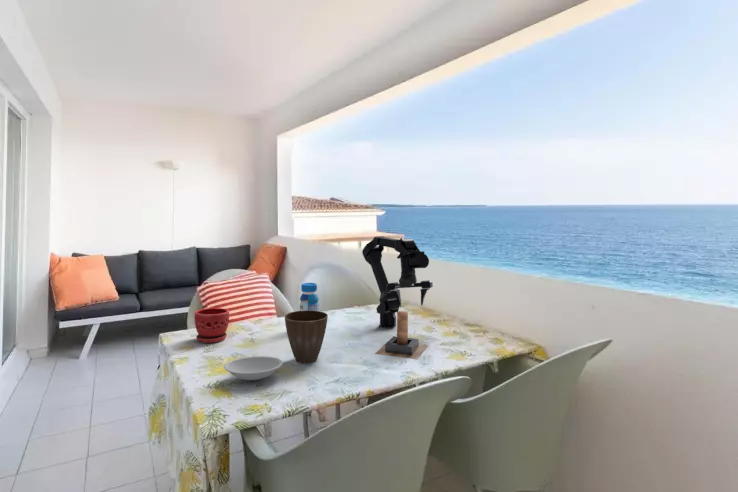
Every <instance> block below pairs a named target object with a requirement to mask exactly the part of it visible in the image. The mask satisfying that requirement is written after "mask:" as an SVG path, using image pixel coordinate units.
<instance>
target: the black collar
mask: <svg viewBox="0 0 738 492" xmlns="http://www.w3.org/2000/svg"><path fill="white" fill-rule="evenodd" d="M419 341H420V338H412V337H408V345H405V344H397V335H395V336H394V335H393V336H392V337H391V338H390V339H389V340H388V341H386V343H384V344H385V352H389V353H397V354H405V355H413V353H414V352H415V351H416V350H417V348H418V347H419V344H420V342H419Z"/></svg>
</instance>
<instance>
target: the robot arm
mask: <svg viewBox="0 0 738 492" xmlns="http://www.w3.org/2000/svg"><path fill="white" fill-rule="evenodd" d="M385 248H390V249H393V250H394V251H396V252H397V253H399V255H397V256H396V258H397V259H399V260H400V277H399V279H398V282H395V281H394V282H389V280H388V277H387V275H386V273H385V269H384V267H383V264H382V257H383V254H382V253H383V251H384V249H385ZM361 253H362V256H363V259H364V260H365V262H366V263H367V264H369V265H370V267H371V269H372V273H373V275H374V278H375V280H376V281H375V282H376V284H377V286H378V290H379V292H380V296H379V304H378V305H377V307H376V308H375V309H376V313H377V314H379V325H378V328H385V329H386V328H387V329H393V328H394V327H396V326H397V315H396V313H397V312H398V311H400V308H401V307H402V298H401V290H400V289H407V288H421V289H420V305H421V306H423V305H424V302H425V297H426V294H427V292H428V291H429V290H430V288H433V287H434V286H433V281H432V280H431V279H430V280H429V279H428V280H421V281H420V282H417V281H418V280H417V275H416V269H425V268H427V267H428V266H429V263H430V258H428V255H426V253H425V251H421V250H420V248H419V247H418V246H417V244H416V242H415V240H414V239H413V238H402V239H397V238H391V237H387V236H381V235H380V236H374V237H373V239H371V240H370V241H369V242H368V243H366V244H365V246H364V247H363V249H362V251H361Z"/></svg>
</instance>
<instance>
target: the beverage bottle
mask: <svg viewBox="0 0 738 492" xmlns="http://www.w3.org/2000/svg"><path fill="white" fill-rule="evenodd" d="M300 285H301V286H300V287H301V293H302V294H301V295H300V298H299V301H300V303H299V311H306V310H311V311H320V308H319V307H320V303H319V299H320V298H319V295H318V294H317V293H316V292H317V291H318V290H317V289H318V285H317V283H315V282H305V283H301V284H300Z"/></svg>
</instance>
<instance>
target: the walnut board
mask: <svg viewBox="0 0 738 492" xmlns="http://www.w3.org/2000/svg"><path fill="white" fill-rule="evenodd" d="M385 344H386V343H384V344H383V345H382V346H381V347H380V348H379V349H378V350H377V351H376V352H375V353H374V355H381V356H388V357H389V356H390V357H395V358H396V357H397V358H403V359H404V358H405V359H412V360H414V359H415V360H419V359H420V357H421V356H422V355H423V354H424V352H425V351H426V349H427V348H428V347H429V345H428V344H421V343H419V347H418V348H417V350H416V351H415V352H414V353H413V355H405V354H397V353H389V352H385Z"/></svg>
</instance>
